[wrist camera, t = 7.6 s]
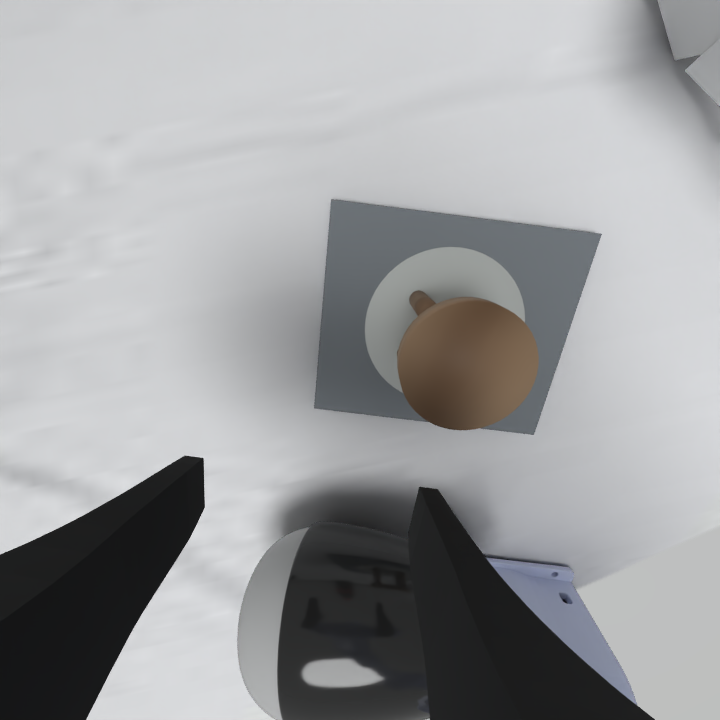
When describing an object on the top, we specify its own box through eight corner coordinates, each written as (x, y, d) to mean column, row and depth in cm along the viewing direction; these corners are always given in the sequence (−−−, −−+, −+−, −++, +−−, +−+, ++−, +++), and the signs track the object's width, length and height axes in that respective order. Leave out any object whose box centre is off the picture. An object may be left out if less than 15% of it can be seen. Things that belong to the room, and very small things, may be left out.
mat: (594, 234, 18) (603, 233, 17) (529, 429, 22) (534, 435, 21) (332, 200, 18) (331, 199, 17) (315, 403, 22) (313, 408, 21)
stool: (501, 293, 18) (560, 316, 13) (472, 384, 20) (512, 440, 14) (402, 274, 18) (416, 289, 12) (382, 368, 20) (386, 417, 14)
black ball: (241, 503, 20) (507, 505, 18) (297, 534, 28) (484, 539, 26) (178, 757, 14) (569, 821, 11) (273, 703, 22) (514, 733, 20)
